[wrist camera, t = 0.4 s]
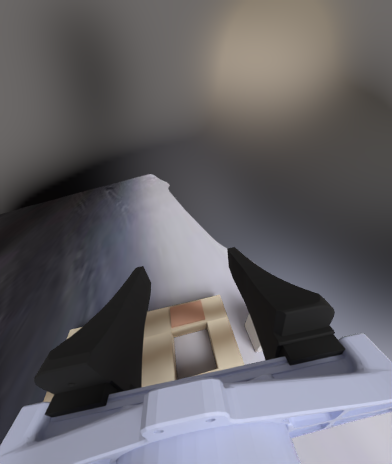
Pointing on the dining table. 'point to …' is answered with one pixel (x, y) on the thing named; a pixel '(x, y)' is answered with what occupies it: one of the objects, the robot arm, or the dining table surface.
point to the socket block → (177, 324)
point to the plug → (252, 334)
